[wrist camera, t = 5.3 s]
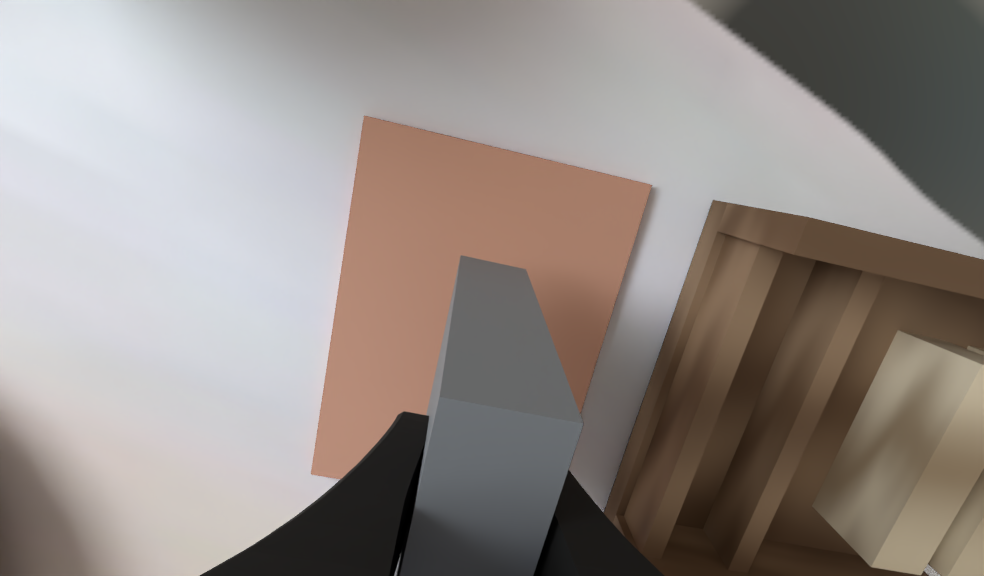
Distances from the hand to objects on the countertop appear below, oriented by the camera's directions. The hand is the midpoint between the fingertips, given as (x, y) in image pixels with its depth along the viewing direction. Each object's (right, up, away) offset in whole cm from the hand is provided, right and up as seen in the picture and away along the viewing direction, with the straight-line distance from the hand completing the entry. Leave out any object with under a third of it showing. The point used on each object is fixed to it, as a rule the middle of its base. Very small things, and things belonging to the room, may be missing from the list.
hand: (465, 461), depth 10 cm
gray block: (0, +1, +5) cm, 5 cm away
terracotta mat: (0, +2, +7) cm, 8 cm away
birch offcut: (+16, -2, +8) cm, 18 cm away
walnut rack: (+14, -1, +9) cm, 16 cm away
